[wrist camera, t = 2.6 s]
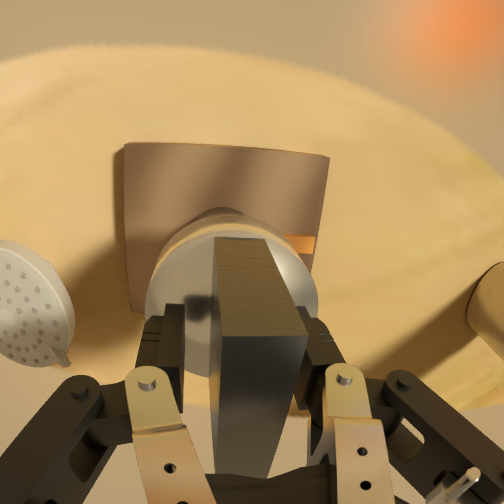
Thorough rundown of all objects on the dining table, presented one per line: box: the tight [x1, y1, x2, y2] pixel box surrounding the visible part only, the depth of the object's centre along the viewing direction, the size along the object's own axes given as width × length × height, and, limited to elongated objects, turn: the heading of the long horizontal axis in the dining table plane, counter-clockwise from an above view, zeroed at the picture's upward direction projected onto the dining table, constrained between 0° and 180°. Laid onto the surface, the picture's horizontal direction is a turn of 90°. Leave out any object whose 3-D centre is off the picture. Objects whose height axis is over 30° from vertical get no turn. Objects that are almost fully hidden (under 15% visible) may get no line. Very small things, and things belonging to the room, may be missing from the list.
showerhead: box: [0, 240, 75, 367], centre depth 18 cm, size 9×7×10 cm
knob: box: [145, 214, 318, 479], centre depth 12 cm, size 7×8×8 cm
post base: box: [124, 143, 330, 313], centre depth 19 cm, size 13×12×8 cm
